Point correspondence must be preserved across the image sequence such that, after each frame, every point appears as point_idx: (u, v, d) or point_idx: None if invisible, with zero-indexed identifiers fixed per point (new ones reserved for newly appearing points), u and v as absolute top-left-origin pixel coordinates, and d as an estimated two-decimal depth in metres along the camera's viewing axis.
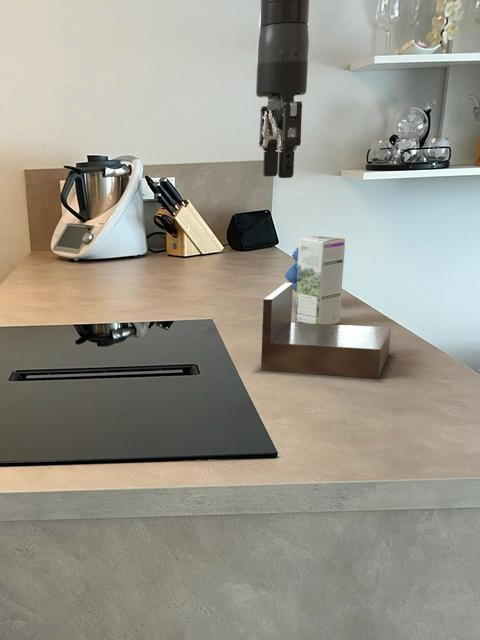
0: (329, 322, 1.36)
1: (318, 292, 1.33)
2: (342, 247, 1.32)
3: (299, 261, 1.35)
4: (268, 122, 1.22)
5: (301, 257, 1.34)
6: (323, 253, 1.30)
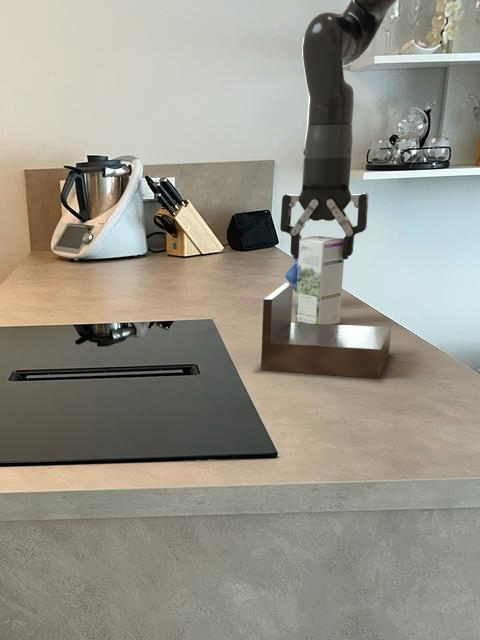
0: (329, 322, 1.36)
1: (318, 292, 1.33)
2: (342, 247, 1.32)
3: (299, 261, 1.35)
4: (314, 209, 1.30)
5: (301, 257, 1.34)
6: (323, 253, 1.30)
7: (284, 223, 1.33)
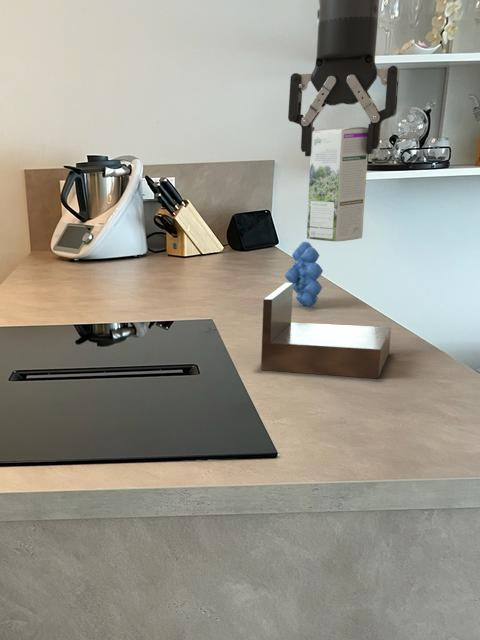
0: (349, 236, 1.10)
1: (336, 196, 1.06)
2: (366, 139, 1.06)
3: (311, 160, 1.08)
4: (331, 90, 1.04)
5: (314, 154, 1.07)
6: (343, 144, 1.04)
7: (293, 110, 1.07)
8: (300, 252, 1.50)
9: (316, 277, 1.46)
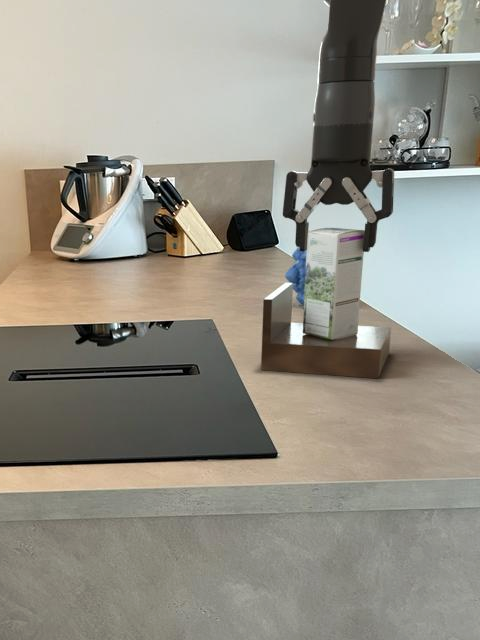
0: (345, 334, 1.10)
1: (331, 297, 1.07)
2: (361, 241, 1.06)
3: (307, 259, 1.09)
4: (326, 190, 1.04)
5: (310, 254, 1.08)
6: (339, 248, 1.04)
7: (287, 207, 1.07)
8: (300, 252, 1.50)
9: None
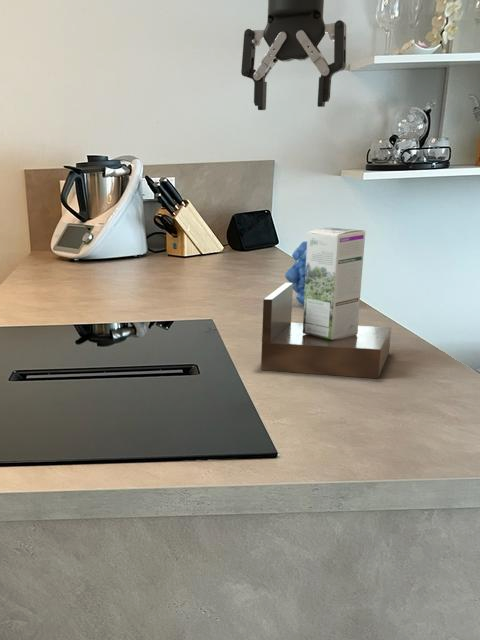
0: (345, 334, 1.10)
1: (331, 297, 1.07)
2: (361, 241, 1.06)
3: (307, 259, 1.09)
4: (282, 45, 1.09)
5: (310, 254, 1.08)
6: (339, 248, 1.04)
7: (246, 65, 1.12)
8: (300, 252, 1.50)
9: None
